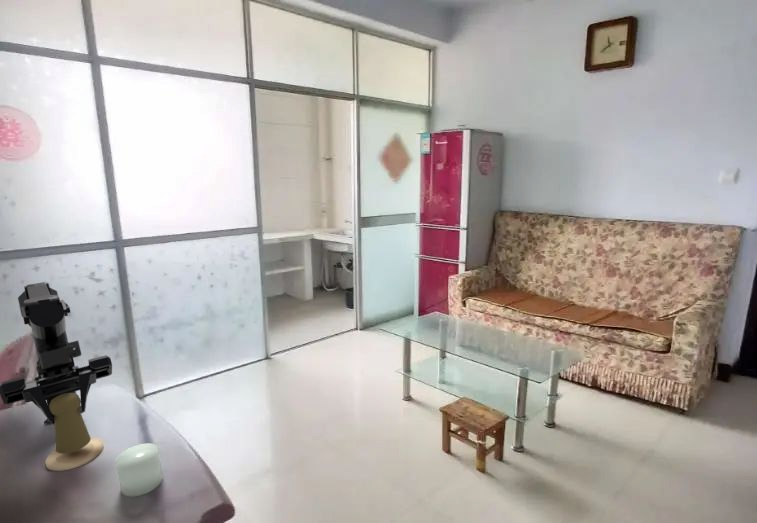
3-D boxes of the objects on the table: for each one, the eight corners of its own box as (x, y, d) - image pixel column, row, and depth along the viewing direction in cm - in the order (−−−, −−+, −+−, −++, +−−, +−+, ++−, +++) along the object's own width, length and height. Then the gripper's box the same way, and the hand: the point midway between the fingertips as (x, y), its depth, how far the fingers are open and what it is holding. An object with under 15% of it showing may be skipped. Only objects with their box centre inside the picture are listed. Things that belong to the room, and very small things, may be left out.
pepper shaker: (69, 456, 87) (58, 406, 84) (48, 450, 89) (37, 401, 86) (97, 438, 92) (88, 391, 90) (77, 432, 94) (67, 386, 92)
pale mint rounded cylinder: (129, 473, 85) (124, 446, 83) (167, 468, 86) (163, 441, 85) (114, 499, 78) (109, 470, 77) (156, 493, 79) (151, 464, 78)
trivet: (62, 443, 95) (61, 440, 95) (111, 437, 96) (111, 434, 96) (35, 474, 85) (34, 471, 85) (90, 467, 87) (90, 464, 87)
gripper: (-12, 344, 82) (0, 422, 76) (103, 320, 94) (121, 386, 88) (-2, 368, 90) (10, 440, 84) (103, 343, 102) (119, 404, 96)
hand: (67, 416), depth 88 cm, fingers closed on pepper shaker, 5 cm apart
